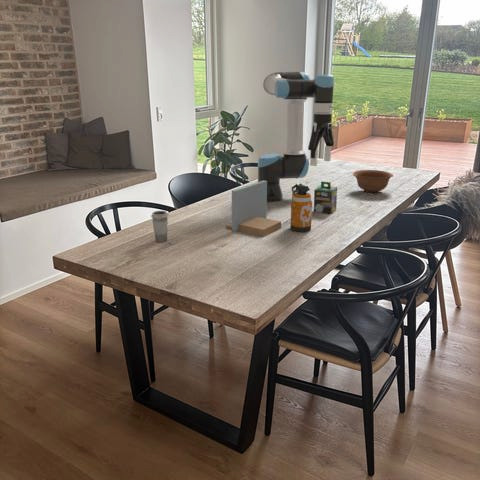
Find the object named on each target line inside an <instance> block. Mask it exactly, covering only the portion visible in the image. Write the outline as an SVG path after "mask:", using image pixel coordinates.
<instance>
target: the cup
mask: <svg viewBox="0 0 480 480" xmlns="http://www.w3.org/2000/svg"><path fill="white" fill-rule="evenodd" d="M150 217H151V218H152V226H153V232H154V233H153V234H154V239H155V242H156V243H166V242H167V241H168V223H169V222H168V217H169V214H168V211H166V210H155V211H153V212H152V214H150Z"/></svg>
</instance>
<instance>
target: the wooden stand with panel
mask: <svg viewBox="0 0 480 480" xmlns="http://www.w3.org/2000/svg"><path fill="white" fill-rule="evenodd" d="M267 205H268V201H267V181H264V180H263V181H260V182H258V181H257V182H255V183H251V184H248V185H245V186H242V187H239V188H234V189H233V190H231V222H230V223H228V224H226V225H225V229H229V230H231V231H232V232H234V233H236V232H238V231H239V232H243V233H248V234H251V235H256V236H260V237H265V236H268V235H269V234H272V233H273V232H274V233H275V232H276V231H277V230H280V229H281V228H282V221H280V220H275V219H271V218H268V216H267V213H268V212H267V211H268V209H267V208H268V207H267Z"/></svg>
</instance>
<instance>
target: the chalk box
mask: <svg viewBox="0 0 480 480" xmlns="http://www.w3.org/2000/svg"><path fill="white" fill-rule="evenodd" d="M337 194H338V187H337V186H331V182H330V181H329V182H328V181H321V183H320V185H319V186H317V187H316V188H315V189H314V195H313V198H314V199H313V212H314V213H321V214H327V215H328V214H329V215H331V214H333V213H334V212H335V211H336V210H337V200H338V195H337Z"/></svg>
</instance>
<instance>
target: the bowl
mask: <svg viewBox="0 0 480 480" xmlns="http://www.w3.org/2000/svg"><path fill="white" fill-rule="evenodd" d="M352 175H353V177H355V179H356V182H357V186H358V187H359V189H361V190H363V193H364V194H367V195H378V194H380V192H381V191H383V190H385V189H386V188H387V186H388V185H389V181H390V179H391V178H393V177H394V174H393V173H391V172H388V171H385V170H377V169H359V170H356V171H354V172H352Z"/></svg>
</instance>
